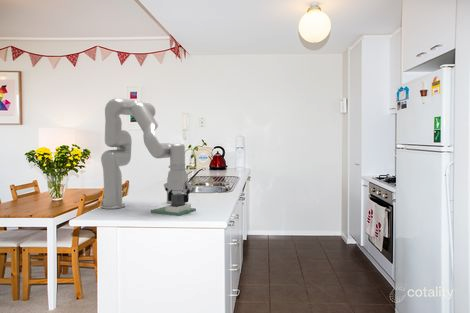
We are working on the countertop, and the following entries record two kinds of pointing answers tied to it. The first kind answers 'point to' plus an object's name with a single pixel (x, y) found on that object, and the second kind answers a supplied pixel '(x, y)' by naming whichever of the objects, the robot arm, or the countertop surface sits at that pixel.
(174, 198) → the dark gray block
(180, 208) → the header board
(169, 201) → the skincare box
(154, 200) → the countertop surface
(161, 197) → the countertop surface
